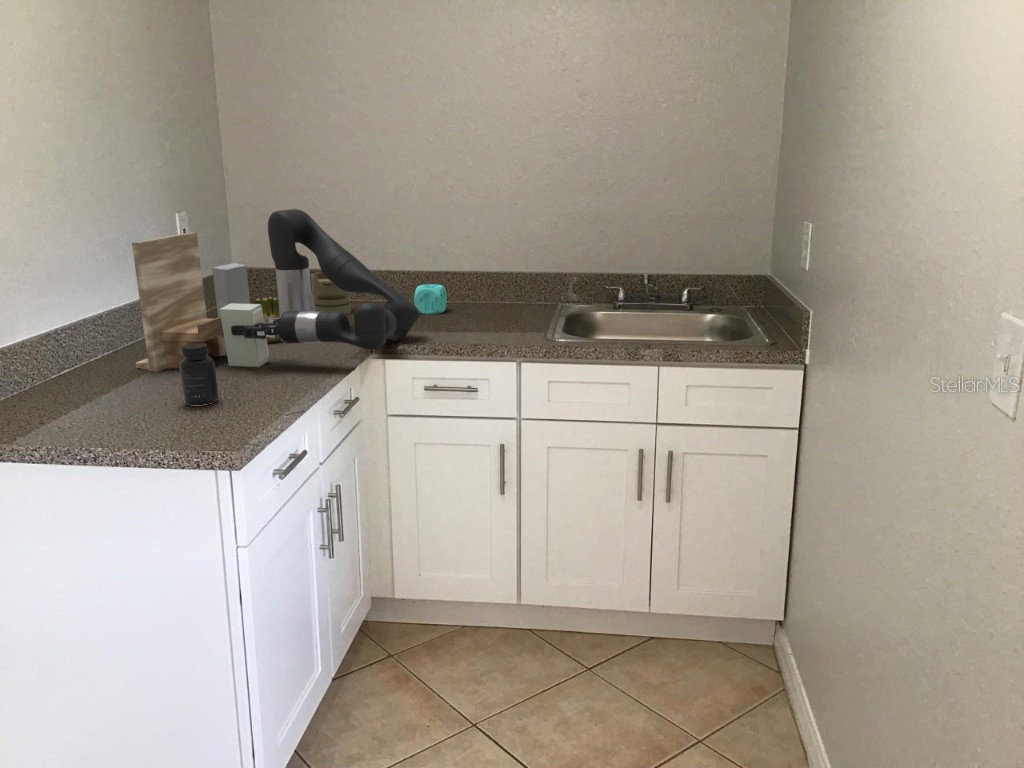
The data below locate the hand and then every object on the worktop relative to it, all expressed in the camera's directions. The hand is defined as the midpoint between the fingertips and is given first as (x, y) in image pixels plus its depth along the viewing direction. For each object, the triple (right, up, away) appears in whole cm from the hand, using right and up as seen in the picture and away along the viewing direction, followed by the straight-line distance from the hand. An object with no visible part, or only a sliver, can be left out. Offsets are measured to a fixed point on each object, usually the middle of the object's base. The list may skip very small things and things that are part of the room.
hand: (239, 328), depth 201 cm
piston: (+9, +9, +64) cm, 65 cm away
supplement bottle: (+1, -17, -27) cm, 32 cm away
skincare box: (-21, +7, +60) cm, 64 cm away
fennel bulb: (+1, -2, +25) cm, 25 cm away
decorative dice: (+40, +9, +62) cm, 74 cm away
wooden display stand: (-13, -8, +6) cm, 17 cm away
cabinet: (+1, -8, +3) cm, 9 cm away
